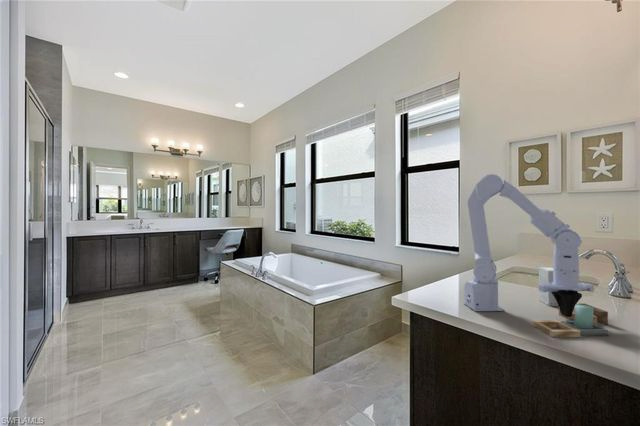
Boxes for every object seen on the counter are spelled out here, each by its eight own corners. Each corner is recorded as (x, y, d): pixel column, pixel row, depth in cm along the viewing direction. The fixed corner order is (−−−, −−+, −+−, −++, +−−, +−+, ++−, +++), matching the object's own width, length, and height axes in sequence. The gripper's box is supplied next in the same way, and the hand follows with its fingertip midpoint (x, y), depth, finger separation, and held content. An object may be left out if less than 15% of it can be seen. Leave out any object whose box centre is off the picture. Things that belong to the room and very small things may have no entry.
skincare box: (563, 306, 93) (563, 271, 93) (548, 306, 94) (548, 270, 94) (552, 300, 99) (551, 267, 99) (538, 300, 100) (538, 266, 100)
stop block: (600, 324, 79) (600, 312, 79) (578, 314, 86) (578, 303, 86) (607, 324, 79) (607, 311, 79) (584, 314, 86) (584, 303, 86)
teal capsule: (582, 331, 73) (582, 308, 73) (570, 325, 77) (571, 303, 77) (596, 331, 73) (597, 309, 73) (584, 325, 77) (585, 304, 76)
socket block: (552, 337, 72) (552, 331, 72) (532, 325, 79) (532, 320, 79) (580, 337, 72) (580, 331, 72) (557, 325, 79) (557, 320, 79)
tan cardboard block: (579, 325, 79) (579, 317, 79) (558, 316, 86) (558, 308, 86) (597, 325, 79) (597, 316, 79) (575, 316, 86) (575, 308, 86)
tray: (580, 336, 72) (580, 330, 72) (560, 326, 78) (560, 321, 78) (608, 335, 72) (608, 330, 72) (586, 326, 78) (586, 320, 78)
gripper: (552, 273, 78) (552, 321, 79) (604, 272, 78) (604, 320, 78) (533, 267, 85) (533, 312, 86) (581, 267, 85) (581, 311, 85)
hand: (566, 315), depth 82 cm, fingers closed
